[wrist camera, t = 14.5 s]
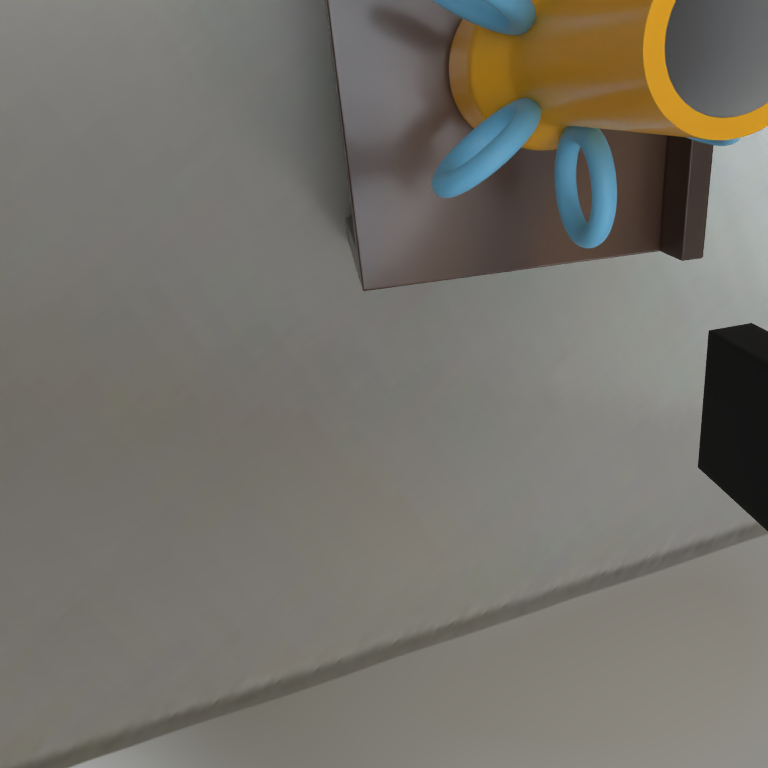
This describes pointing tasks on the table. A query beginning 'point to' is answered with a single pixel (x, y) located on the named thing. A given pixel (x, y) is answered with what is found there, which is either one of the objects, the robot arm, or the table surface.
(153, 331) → the table surface
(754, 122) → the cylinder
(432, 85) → the stand
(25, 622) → the table surface
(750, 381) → the robot arm
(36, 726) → the table surface
